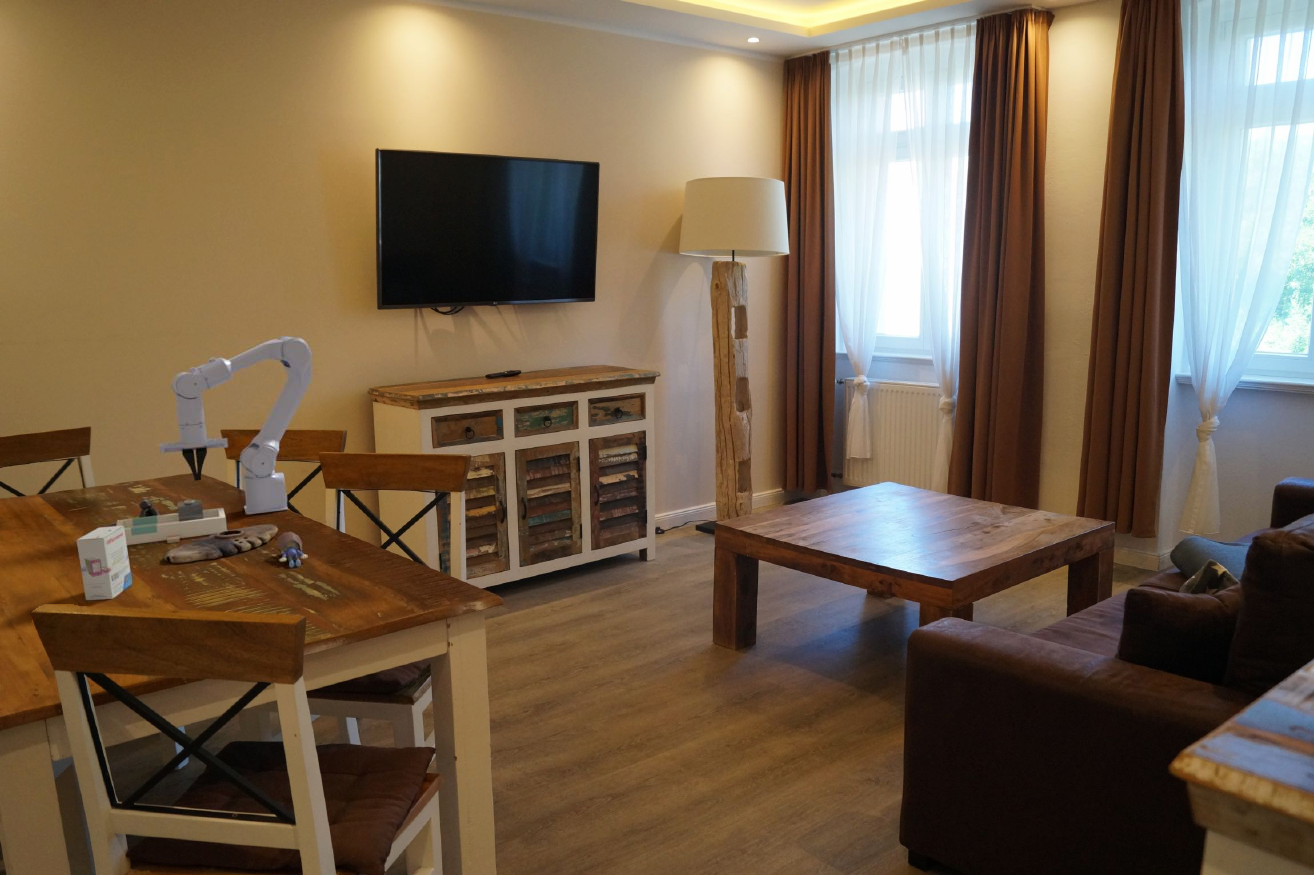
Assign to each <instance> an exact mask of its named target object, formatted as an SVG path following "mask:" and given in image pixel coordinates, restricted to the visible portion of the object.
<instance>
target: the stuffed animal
mask: <svg viewBox="0 0 1314 875" xmlns="http://www.w3.org/2000/svg"><path fill="white" fill-rule="evenodd" d="M138 506H139V508H140V509H141V511H140V513H139V517H138V518H141V517H150V516H158V515H161V514H160V513H159V510H158V509H157V508H155V507H154V506H153V503H152V501H151V500H150V499H143V500H142V501H140V503H139V504H138ZM172 514H175V513H174V512H173V513H172ZM116 525H117V522H114V523H110V524H109V527H112V526H116Z"/></svg>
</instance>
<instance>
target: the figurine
mask: <svg viewBox="0 0 1314 875" xmlns="http://www.w3.org/2000/svg"><path fill="white" fill-rule="evenodd" d="M276 547H277V550H278V552H279V554H281V555H282V556H281V558H279V559H278V560H279V562H281V563H283V562H287V560H288V562H289V563H288V565H289V568H294V567H295V566H296V567H301V565H302V564H301V563H302V562H301V560H300V559H302V560H303V559H307V558H309V556H308V554H304V552H303V541H302V540H301V538H300V535H298V534H296V533H295V532H292V531H288V532H283V533H282V534H281V535H280V536H278V538H277V543H276ZM298 556H299V557H300V558H299V557H298ZM294 561H295V562H294Z"/></svg>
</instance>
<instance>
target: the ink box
mask: <svg viewBox="0 0 1314 875" xmlns="http://www.w3.org/2000/svg"><path fill="white" fill-rule="evenodd" d="M76 544H77V545H76V546H77V551H78V558H79V562H80V564H79V565H80V569H81V576H82V582H83V590H84V596H85V601H97V600H112V599H113V600H114V598H116V597H117V596H119V595H120V594H121V593H122V592H123V591H125V590H126V589H128V588H129V587H130V586H132V585H133V580H132V579H133V578H132V572H131V567H130V560H129V553H128V545H127V544H126V537H125V531H124V526H112V527H111V526H103V527H97V528H96V529H94V530H92V531H90V532H89V533H86V534H85V535H83V536H81V537H80V538H78V539H76Z"/></svg>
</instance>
